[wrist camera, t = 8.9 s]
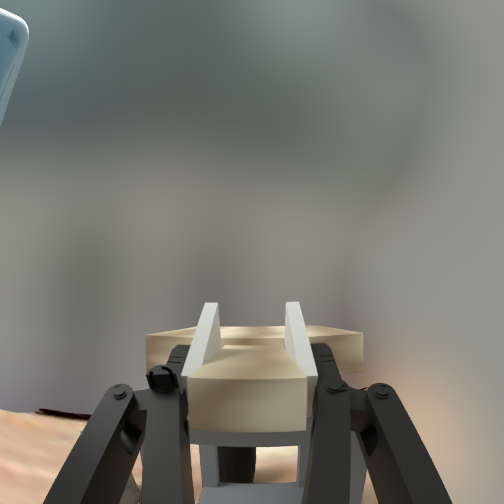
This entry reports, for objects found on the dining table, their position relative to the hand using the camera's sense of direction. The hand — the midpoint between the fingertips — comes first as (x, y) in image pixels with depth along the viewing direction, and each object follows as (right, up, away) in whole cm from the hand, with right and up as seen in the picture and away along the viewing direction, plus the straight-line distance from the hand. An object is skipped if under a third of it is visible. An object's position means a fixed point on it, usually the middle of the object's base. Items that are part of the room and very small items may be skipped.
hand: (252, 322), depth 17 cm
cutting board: (0, -6, +6) cm, 9 cm away
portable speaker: (-4, -45, +29) cm, 53 cm away
